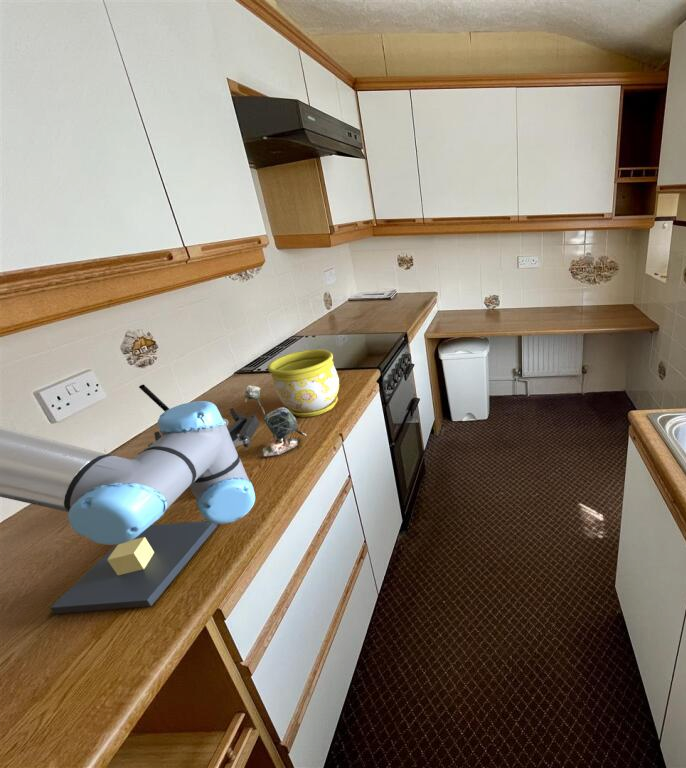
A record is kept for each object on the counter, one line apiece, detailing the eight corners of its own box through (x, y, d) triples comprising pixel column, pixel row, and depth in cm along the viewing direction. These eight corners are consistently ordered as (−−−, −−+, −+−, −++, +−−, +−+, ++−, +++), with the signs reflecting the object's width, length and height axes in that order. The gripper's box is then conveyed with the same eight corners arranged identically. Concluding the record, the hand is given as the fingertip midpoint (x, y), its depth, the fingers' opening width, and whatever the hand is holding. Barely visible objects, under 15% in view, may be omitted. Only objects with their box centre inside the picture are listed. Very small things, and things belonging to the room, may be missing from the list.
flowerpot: (287, 428, 118) (269, 377, 111) (281, 405, 132) (265, 358, 125) (350, 409, 127) (337, 361, 120) (338, 389, 141) (326, 345, 134)
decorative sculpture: (302, 453, 106) (279, 384, 97) (256, 459, 105) (228, 390, 96) (311, 437, 113) (290, 371, 105) (268, 442, 112) (243, 376, 103)
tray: (53, 613, 67) (49, 607, 67) (139, 531, 84) (136, 526, 83) (151, 606, 68) (147, 600, 67) (217, 525, 84) (214, 520, 83)
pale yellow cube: (117, 575, 72) (106, 559, 70) (129, 558, 75) (119, 542, 73) (144, 569, 73) (133, 553, 71) (154, 552, 76) (145, 536, 74)
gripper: (136, 516, 69) (132, 463, 84) (291, 453, 84) (265, 418, 98) (115, 481, 66) (115, 433, 80) (280, 422, 80) (255, 390, 95)
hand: (197, 424), depth 89 cm, fingers open, 13 cm apart
